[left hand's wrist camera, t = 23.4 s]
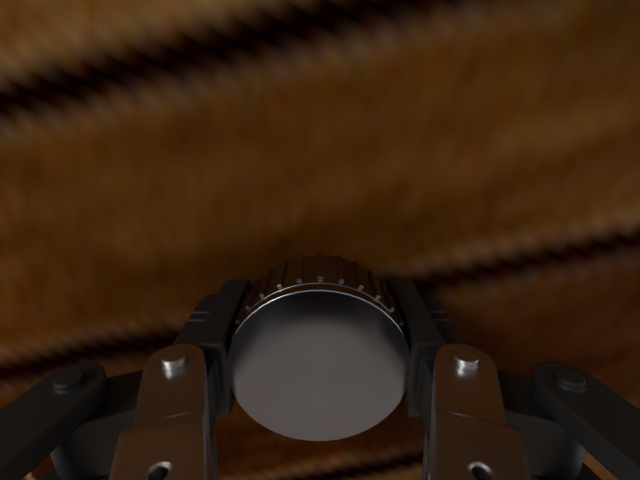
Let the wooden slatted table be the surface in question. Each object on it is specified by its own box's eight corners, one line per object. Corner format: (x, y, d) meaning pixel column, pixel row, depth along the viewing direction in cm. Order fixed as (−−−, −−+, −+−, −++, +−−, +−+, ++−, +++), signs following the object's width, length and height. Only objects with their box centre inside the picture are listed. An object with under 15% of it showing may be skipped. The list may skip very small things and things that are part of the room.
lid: (341, 409, 12) (346, 468, 10) (213, 346, 11) (190, 396, 9) (429, 303, 11) (454, 347, 9) (290, 221, 10) (283, 250, 8)
